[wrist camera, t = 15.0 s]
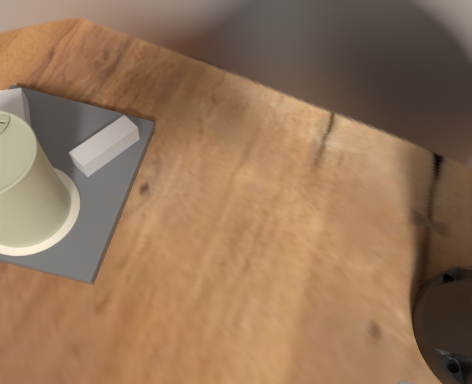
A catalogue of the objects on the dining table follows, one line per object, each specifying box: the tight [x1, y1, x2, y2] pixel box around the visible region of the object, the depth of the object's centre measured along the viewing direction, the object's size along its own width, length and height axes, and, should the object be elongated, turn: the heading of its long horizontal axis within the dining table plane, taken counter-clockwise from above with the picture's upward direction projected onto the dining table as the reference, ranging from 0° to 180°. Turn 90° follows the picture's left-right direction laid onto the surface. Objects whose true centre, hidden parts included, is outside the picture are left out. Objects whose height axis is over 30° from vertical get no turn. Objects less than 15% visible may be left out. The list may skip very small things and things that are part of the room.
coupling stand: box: [0, 85, 155, 284], centre depth 44 cm, size 19×22×4 cm
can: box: [0, 110, 71, 248], centre depth 37 cm, size 9×9×12 cm
